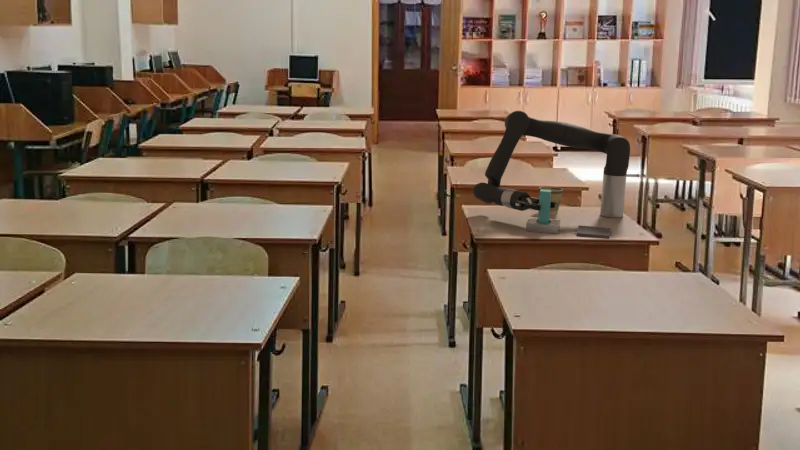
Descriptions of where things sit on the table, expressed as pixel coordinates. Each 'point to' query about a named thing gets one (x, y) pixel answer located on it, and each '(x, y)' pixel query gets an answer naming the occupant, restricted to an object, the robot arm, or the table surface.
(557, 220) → the socket block
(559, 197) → the ceramic cup
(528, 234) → the table surface
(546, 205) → the teal peg
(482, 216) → the table surface
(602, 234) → the rubber mat
